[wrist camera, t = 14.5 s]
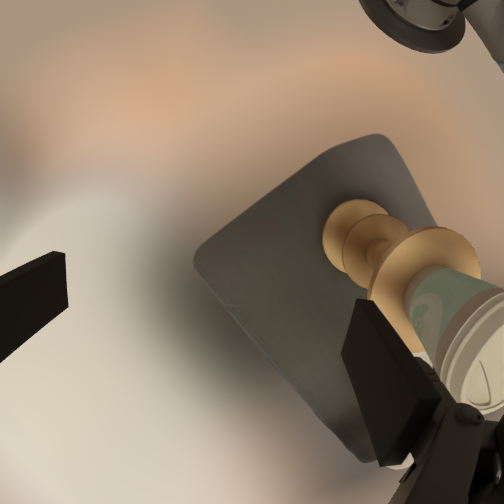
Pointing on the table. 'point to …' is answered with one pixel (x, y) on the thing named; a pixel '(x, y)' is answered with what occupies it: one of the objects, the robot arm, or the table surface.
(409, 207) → the table surface
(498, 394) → the coffee cup
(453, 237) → the top shelf
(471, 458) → the robot arm
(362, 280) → the birch stand
